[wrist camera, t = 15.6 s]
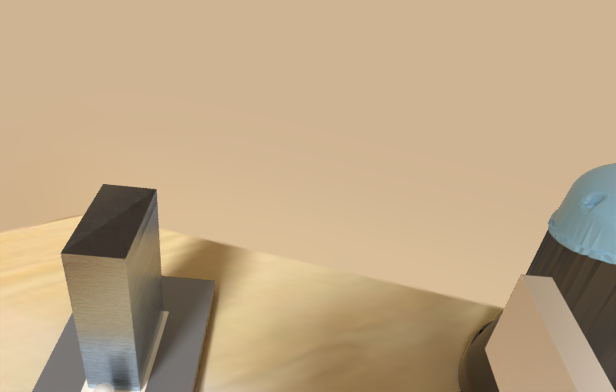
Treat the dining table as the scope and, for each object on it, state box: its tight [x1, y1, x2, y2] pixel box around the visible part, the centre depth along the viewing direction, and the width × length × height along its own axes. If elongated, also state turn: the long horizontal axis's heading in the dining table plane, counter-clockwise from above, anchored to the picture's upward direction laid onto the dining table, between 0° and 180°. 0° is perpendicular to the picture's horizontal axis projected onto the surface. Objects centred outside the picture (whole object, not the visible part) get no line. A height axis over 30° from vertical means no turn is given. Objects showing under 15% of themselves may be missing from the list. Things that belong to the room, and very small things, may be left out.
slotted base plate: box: [32, 276, 215, 392], centre depth 43 cm, size 12×18×4 cm, turn 0°
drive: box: [61, 184, 164, 392], centre depth 39 cm, size 4×8×14 cm, turn 0°
